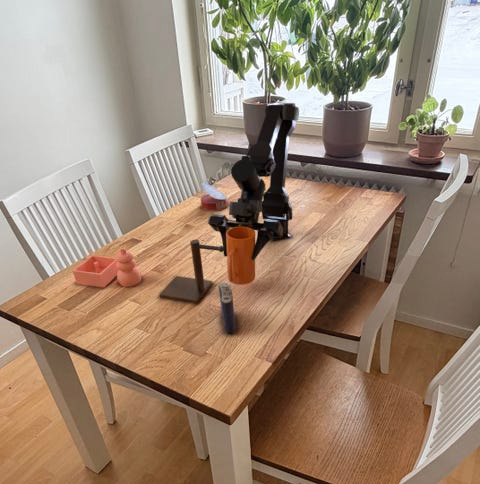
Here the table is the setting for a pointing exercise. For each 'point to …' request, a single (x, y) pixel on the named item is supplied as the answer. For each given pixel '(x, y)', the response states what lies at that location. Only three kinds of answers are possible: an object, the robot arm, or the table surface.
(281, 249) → the table surface
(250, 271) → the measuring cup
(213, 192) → the canned food
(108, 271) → the pottery
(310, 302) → the table surface
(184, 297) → the hook stand
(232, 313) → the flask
